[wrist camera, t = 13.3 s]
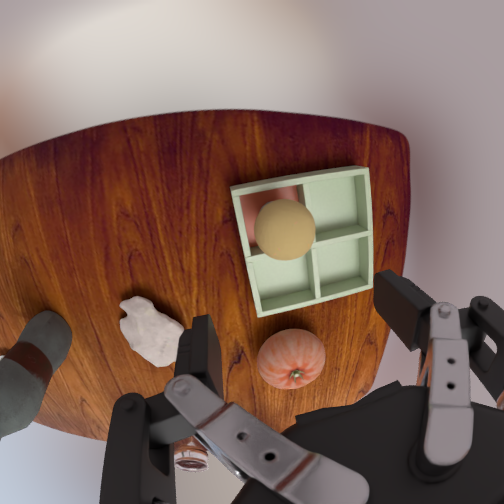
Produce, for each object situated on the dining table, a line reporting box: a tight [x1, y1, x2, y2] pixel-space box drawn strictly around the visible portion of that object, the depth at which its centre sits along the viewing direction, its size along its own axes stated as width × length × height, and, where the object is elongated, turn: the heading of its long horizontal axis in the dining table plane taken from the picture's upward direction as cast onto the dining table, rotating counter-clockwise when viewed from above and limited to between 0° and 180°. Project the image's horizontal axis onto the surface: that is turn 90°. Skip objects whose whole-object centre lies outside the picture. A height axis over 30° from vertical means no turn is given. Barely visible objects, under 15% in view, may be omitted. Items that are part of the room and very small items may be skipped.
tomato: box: [257, 329, 325, 389], centre depth 40 cm, size 11×11×8 cm
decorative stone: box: [120, 296, 184, 367], centre depth 39 cm, size 11×4×15 cm
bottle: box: [0, 311, 72, 440], centre depth 24 cm, size 9×9×30 cm
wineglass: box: [174, 436, 209, 472], centre depth 44 cm, size 7×7×12 cm
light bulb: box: [254, 199, 316, 261], centre depth 30 cm, size 6×6×10 cm
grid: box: [230, 165, 373, 317], centre depth 36 cm, size 17×17×4 cm
